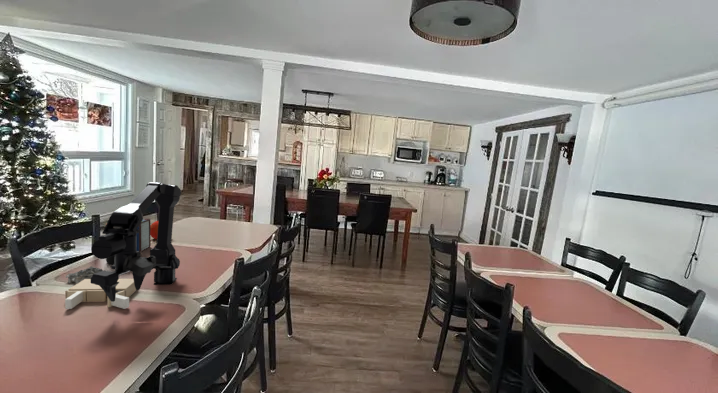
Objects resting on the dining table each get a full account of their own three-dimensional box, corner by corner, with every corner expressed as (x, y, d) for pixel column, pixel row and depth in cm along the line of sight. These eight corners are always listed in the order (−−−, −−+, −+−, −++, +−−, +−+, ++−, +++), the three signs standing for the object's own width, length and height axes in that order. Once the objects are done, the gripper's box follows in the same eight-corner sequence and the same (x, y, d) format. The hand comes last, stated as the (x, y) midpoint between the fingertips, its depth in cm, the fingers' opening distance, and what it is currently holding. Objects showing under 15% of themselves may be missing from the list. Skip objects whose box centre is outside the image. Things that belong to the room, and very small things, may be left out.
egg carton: (79, 286, 118) (79, 276, 117) (63, 283, 119) (63, 273, 119) (107, 276, 128) (107, 267, 128) (92, 274, 130) (92, 264, 129)
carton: (137, 289, 119) (137, 278, 118) (124, 302, 109) (124, 289, 108) (85, 290, 115) (84, 278, 114) (66, 303, 105) (66, 290, 105)
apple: (145, 240, 180) (145, 220, 179) (158, 236, 190) (159, 217, 189) (160, 242, 178) (160, 222, 177) (173, 238, 188) (174, 219, 187)
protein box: (120, 245, 168) (120, 216, 166) (150, 246, 169) (151, 218, 167) (106, 251, 157) (106, 220, 156) (139, 252, 159) (139, 222, 157)
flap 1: (86, 301, 107) (86, 290, 106) (73, 310, 100) (73, 299, 100) (66, 301, 106) (66, 290, 105) (52, 311, 99) (51, 299, 99)
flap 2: (125, 300, 110) (125, 289, 109) (139, 304, 108) (139, 293, 107) (107, 307, 104) (107, 296, 104) (122, 311, 102) (122, 300, 102)
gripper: (121, 261, 91) (121, 312, 93) (169, 245, 110) (169, 287, 111) (88, 256, 93) (89, 306, 95) (141, 241, 111) (141, 283, 113)
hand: (125, 295), depth 103 cm, fingers open, 9 cm apart
